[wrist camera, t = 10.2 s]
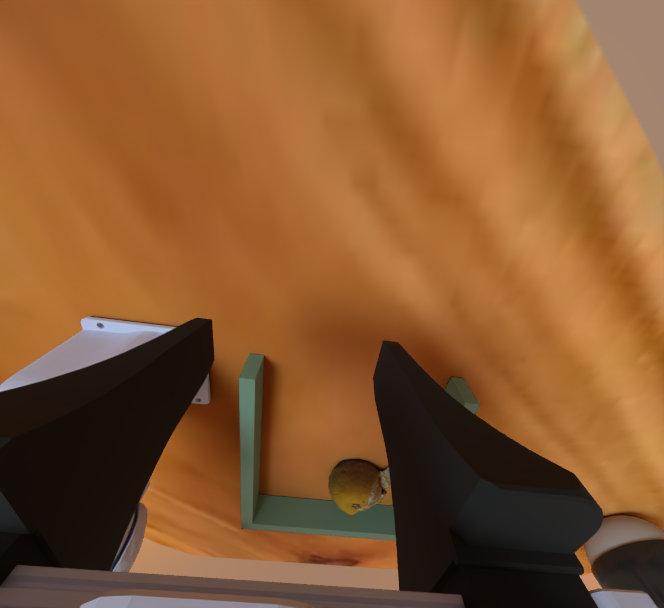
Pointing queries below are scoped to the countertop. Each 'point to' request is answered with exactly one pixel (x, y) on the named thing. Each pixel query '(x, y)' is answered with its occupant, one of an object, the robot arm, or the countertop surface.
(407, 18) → the countertop surface
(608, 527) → the pump dispenser
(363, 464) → the fruit
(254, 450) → the green u-shaped bracket
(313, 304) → the countertop surface
